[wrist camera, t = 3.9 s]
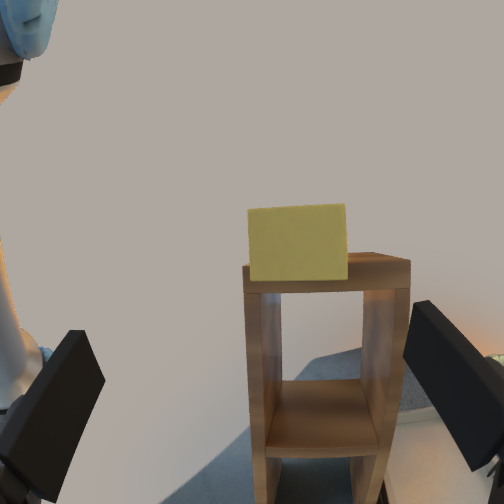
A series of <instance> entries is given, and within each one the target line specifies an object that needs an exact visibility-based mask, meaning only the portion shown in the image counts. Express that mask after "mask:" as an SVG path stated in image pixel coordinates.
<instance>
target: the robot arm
mask: <svg viewBox="0 0 504 504" xmlns="http://www.w3.org/2000/svg"><path fill="white" fill-rule="evenodd" d="M57 5H58V0H0V104H1V103H2V102H3V101H4V100H5V99H6V98H7V96H8V95H9V94H10V93H11V92H12V91H13V90H14V89H15V88H16V87H17V86H18V85H19V82H20V77H21V70H22V65H23V60H24V59H26V60H29V61H30V59H31V58H35V57H38V56H40V55H41V54H42V53H44V51H45V50H46V48H47V45H48V42H49V38H50V34H51V29H52V24H53V21H54V18H55V14H56V9H57ZM402 357H403V358H404V360H405V361H406V363H407V364H408V366H409V367H410V369H411V370H412V372H413V374H414V375H415V377H416V378H417V380H418V381H419V383H420V385H421V386H422V388H423V389H424V391H425V393H426V394H427V396H428V397H429V399H430V401H431V402H432V404H433V406H434V407H435V409H436V410H437V412H438V414H439V415H440V417H441V419H442V420H443V422H444V424H445V426H446V427H447V429H448V431H449V432H450V434H451V436H452V438H453V439H454V441H455V443H456V445H457V446H458V448H459V450H460V452H461V453H462V455H463V457H464V459H465V461H466V463H467V464H468V466H469V468H470V470H471V472H474V471H476V470H478V469H480V468H482V467H483V466H485V465H487V464H489V463H490V461H491V460H492V459H493V458H494V456H495V455H496V454H498V456H499V457H500V459H499V460H498V461H497V463H496V464H495V465H494V466H493V467H492V468H491V470H490V471H489V472H488V474H487V476H486V477H490V476H491V474H492V473H493V472H494V471H495V475H494V476H493V478H494V479H493V484H492V488H491V492H490V496H489V500H488V504H504V367H503V366H502V365H501V363H500V362H498V361H496V360H495V359H493V358H491V357H490V356H487V357H483V356H482V355H481V354H480V353H479V351H478V350H477V349H476V348H475V347H474V346H473V345H472V344H471V343H470V342H469V341H468V340H467V338H466V337H465V336H464V335H463V334H462V333H461V332H460V331H459V330H458V329H457V328H456V327H455V326H454V325H453V324H452V323H451V322H450V321H449V320H448V319H447V318H446V317H445V316H444V315H443V314H442V312H440V310H438V308H437V307H436V306H435V305H433V304H432V303H431V302H430V301H429V300H426V301H421V302H415V303H414V304H413V309H412V315H411V320H410V325H409V330H408V334H407V339H406V343H405V348H404V352H403V356H402ZM104 383H105V378H104V376H103V374H102V372H101V369H100V367H99V365H98V363H97V360H96V358H95V355H94V353H93V351H92V348H91V346H90V343H89V341H88V338H87V336H86V333H85V330H70V331H69V332H68V333H67V335H66V336H65V337H64V339H63V340H62V341H61V343H60V344H59V346H58V347H57V348H56V350H55V351H54V352H53V351H52V350H51V349H49V348H44V347H38V345H37V343H36V341H35V340H34V339H33V337H32V336H31V335H30V334H29V333H27V332H26V331H25V330H24V329H22V328H20V326H19V322H18V319H17V315H16V311H15V308H14V304H13V300H12V296H11V292H10V288H9V283H8V279H7V274H6V269H5V263H4V258H3V252H2V246H1V239H0V504H33V502H32V500H31V498H30V496H29V495H27V494H28V491H29V489H30V490H31V491H32V492H33V493H34V494H35V495H36V496H38V497H39V498H41V499H44V500H47V501H49V502H52V503H56V501H57V499H58V495H59V493H60V490H61V487H62V484H63V481H64V479H65V476H66V474H67V471H68V468H69V466H70V463H71V461H72V458H73V455H74V453H75V450H76V448H77V445H78V443H79V441H80V438H81V436H82V433H83V431H84V428H85V426H86V424H87V421H88V419H89V417H90V415H91V412H92V410H93V408H94V405H95V403H96V401H97V399H98V396H99V394H100V392H101V390H102V388H103V385H104Z"/></svg>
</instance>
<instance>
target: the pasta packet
mask: <svg viewBox="0 0 504 504" xmlns="http://www.w3.org/2000/svg"><path fill="white" fill-rule="evenodd" d="M247 212H248V235H249V236H248V237H249V261H250V280H251V281H331V280H347V279H348V265H347V232H346V214H345V204H326V205H325V204H323V205H306V206H305V205H304V206H287V207H272V208H258V209H248V211H247Z"/></svg>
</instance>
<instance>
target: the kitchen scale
mask: <svg viewBox="0 0 504 504" xmlns="http://www.w3.org/2000/svg"><path fill="white" fill-rule="evenodd" d="M497 461H498V459H497V457H496V456H494V458H493V459H492V460H491V461H490V463H489V464H487V465H485V466H483V467H482V468H480V469H478V470H476V471H474V472H471V470H470V468H469V466H468V464H467V463H466V461H465V459H464V457H463V455H462V453H461V452H460V450H459V448H458V446H457V445H456V443H455V441H454V439H453V438H452V436H451V434H450V432H449V431H448V429H447V427H446V426H445V424H444V422H443V420H442V419H441V417H440V415H439V414H438V412H437V410H436V409H435V407H434V406H432V407H426V408H419V409H413V410H405V411H398V417H397V422H396V427H395V432H394V437H393V442H392V446H391V451H390V455H389V459H388V463H387V467H386V471H385V475H384V478H383V482H382V485H381V489H380V492H379V496H378V499H377V502H376V504H488V500H489V496H490V492H491V488H492V484H493V479H494V478H493V476H494V475H495V471H494V472H493V473H492V474H491V476H490V477H486V476H487V474H488V472H489V471H490V470H491V468H492V467H493V466H494V465H495V464H496V463H497Z"/></svg>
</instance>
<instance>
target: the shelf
mask: <svg viewBox="0 0 504 504" xmlns="http://www.w3.org/2000/svg"><path fill="white" fill-rule="evenodd" d="M347 265H348V279H347V280H331V281H251V280H250V263H249V264H246V265H244V266H242V268H243V269H242V270H243V293H244V313H245V335H246V355H247V374H248V393H249V412H250V430H251V447H252V464H253V481H254V496H255V504H275V500H276V495H277V490H278V485H279V480H280V474H281V469H282V458H337V457H350V463H349V466H350V476H351V486H352V497H353V504H376V502H377V499H378V496H379V492H380V489H381V485H382V482H383V478H384V475H385V471H386V467H387V463H388V459H389V455H390V451H391V446H392V442H393V437H394V432H395V427H396V422H397V417H398V411H399V405H400V399H401V393H402V386H403V378H404V370H405V362H406V361H405V360H404V358H403V357H402V356H403V352H404V348H405V343H406V339H407V334H408V328H409V310H410V284H411V281H410V280H411V272H410V271H411V261H410V260H408V259H403V258H398V257H394V256H389V255H384V254H379V253H374V252H365V253H347ZM343 291H364V304H363V306H364V307H363V336H362V355H361V370H360V379H346V380H316V381H282V342H281V341H282V337H281V298H280V293H311V292H343Z"/></svg>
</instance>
